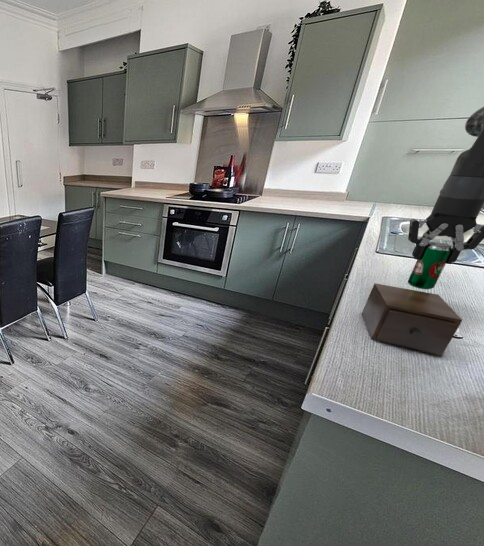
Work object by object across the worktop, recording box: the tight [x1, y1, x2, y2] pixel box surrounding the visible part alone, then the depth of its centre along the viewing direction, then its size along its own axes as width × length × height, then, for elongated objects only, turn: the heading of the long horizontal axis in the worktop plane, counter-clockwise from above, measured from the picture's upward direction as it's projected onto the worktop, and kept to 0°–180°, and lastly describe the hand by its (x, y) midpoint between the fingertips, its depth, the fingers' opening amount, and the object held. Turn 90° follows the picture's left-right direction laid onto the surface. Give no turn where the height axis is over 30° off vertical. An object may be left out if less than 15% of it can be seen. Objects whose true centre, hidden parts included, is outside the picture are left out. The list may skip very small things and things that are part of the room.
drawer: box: [376, 309, 459, 356], centre depth 75 cm, size 15×11×8 cm
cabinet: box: [361, 282, 463, 357], centre depth 77 cm, size 15×12×10 cm
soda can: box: [407, 241, 453, 290], centre depth 82 cm, size 5×5×12 cm
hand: (431, 260), depth 82 cm, fingers closed on soda can, 5 cm apart
